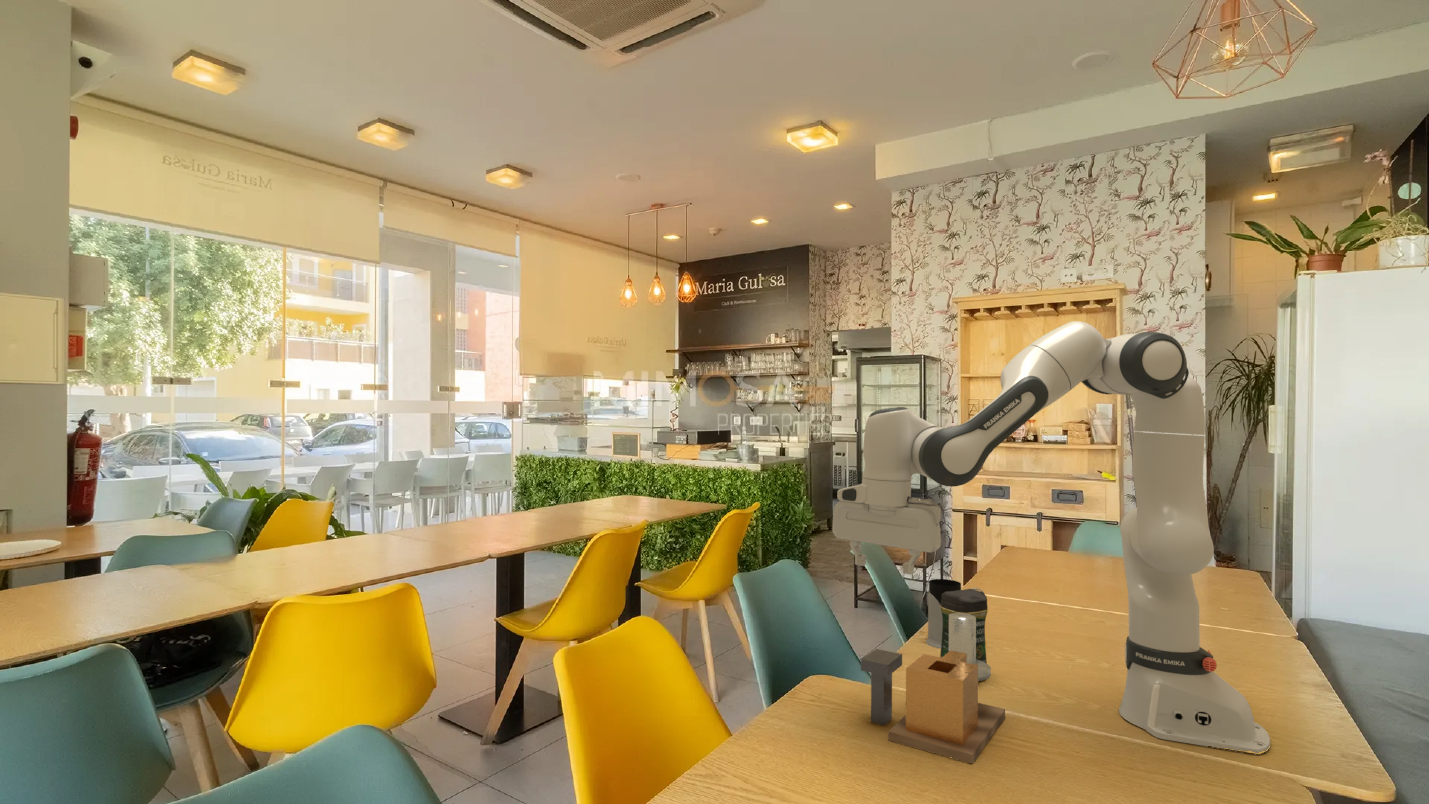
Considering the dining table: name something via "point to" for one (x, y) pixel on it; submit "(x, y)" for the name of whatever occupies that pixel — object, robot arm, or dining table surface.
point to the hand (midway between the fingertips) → (883, 569)
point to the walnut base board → (968, 752)
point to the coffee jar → (968, 604)
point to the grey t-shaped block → (881, 682)
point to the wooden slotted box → (947, 686)
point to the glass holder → (938, 608)
